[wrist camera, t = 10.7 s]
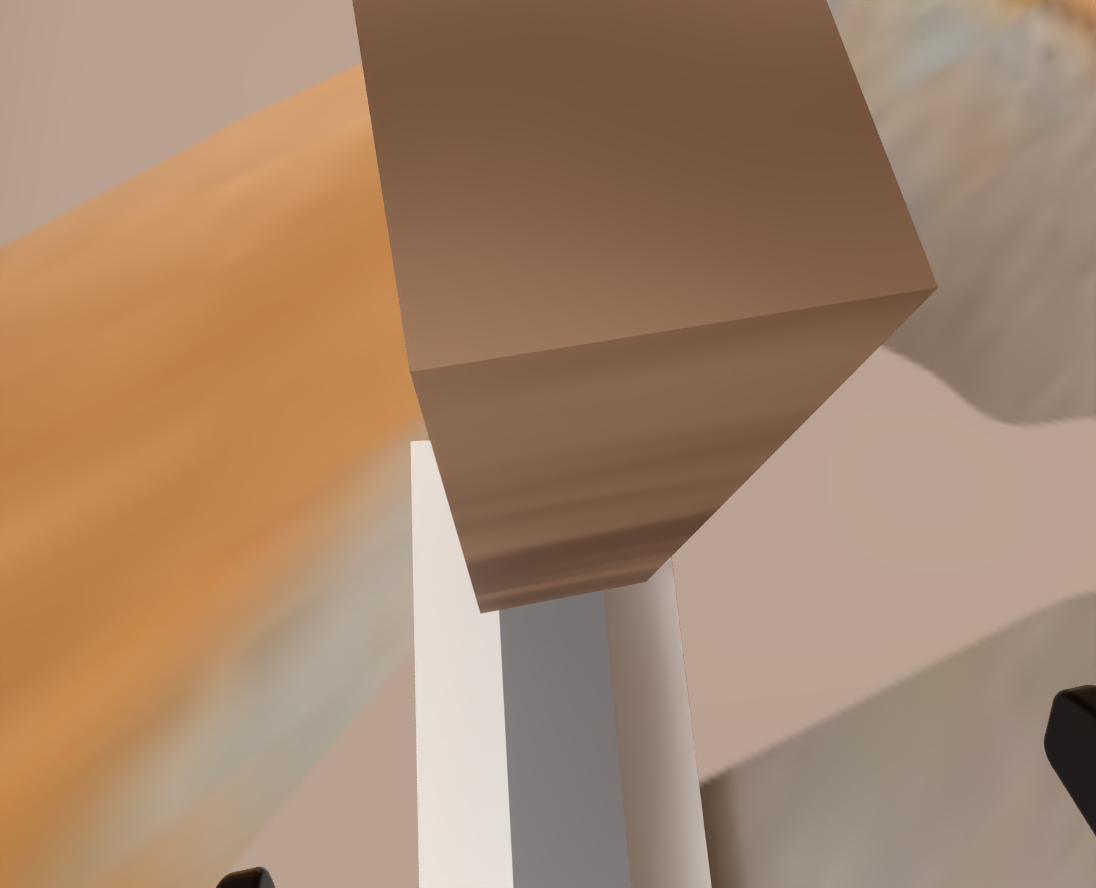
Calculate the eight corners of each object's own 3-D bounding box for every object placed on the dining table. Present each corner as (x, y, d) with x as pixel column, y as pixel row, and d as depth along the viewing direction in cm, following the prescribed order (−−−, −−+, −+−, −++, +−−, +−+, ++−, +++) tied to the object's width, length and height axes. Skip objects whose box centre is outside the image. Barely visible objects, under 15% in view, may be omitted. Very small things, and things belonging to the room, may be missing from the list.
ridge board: (732, 1170, 19) (787, 1282, 15) (432, 1204, 19) (412, 1328, 15) (647, 444, 25) (672, 395, 21) (416, 457, 24) (399, 409, 21)
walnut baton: (645, 581, 19) (937, 286, 6) (480, 613, 19) (410, 373, 6) (610, 427, 21) (788, -98, 7) (453, 453, 20) (343, -51, 7)
